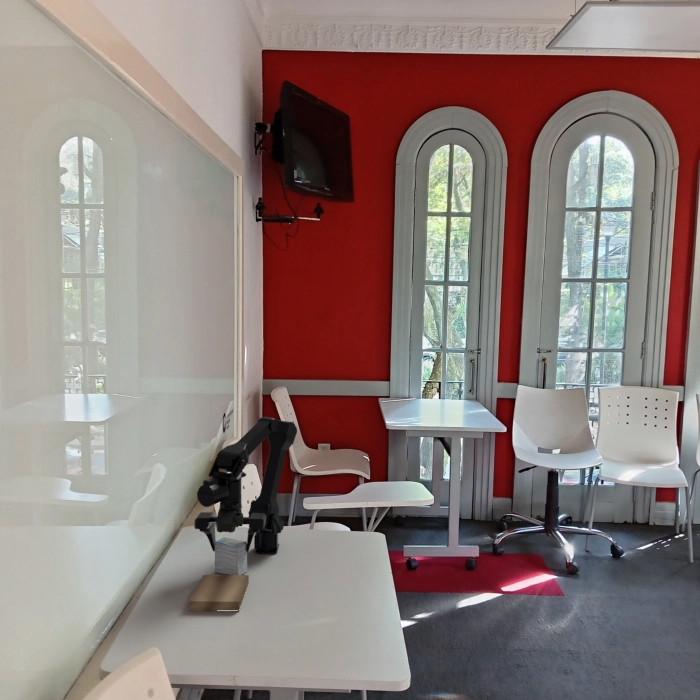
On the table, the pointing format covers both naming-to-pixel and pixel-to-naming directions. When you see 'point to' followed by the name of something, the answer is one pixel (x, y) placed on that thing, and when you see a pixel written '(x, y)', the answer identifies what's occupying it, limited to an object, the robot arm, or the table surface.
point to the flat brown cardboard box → (219, 593)
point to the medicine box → (230, 556)
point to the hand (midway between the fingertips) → (230, 551)
